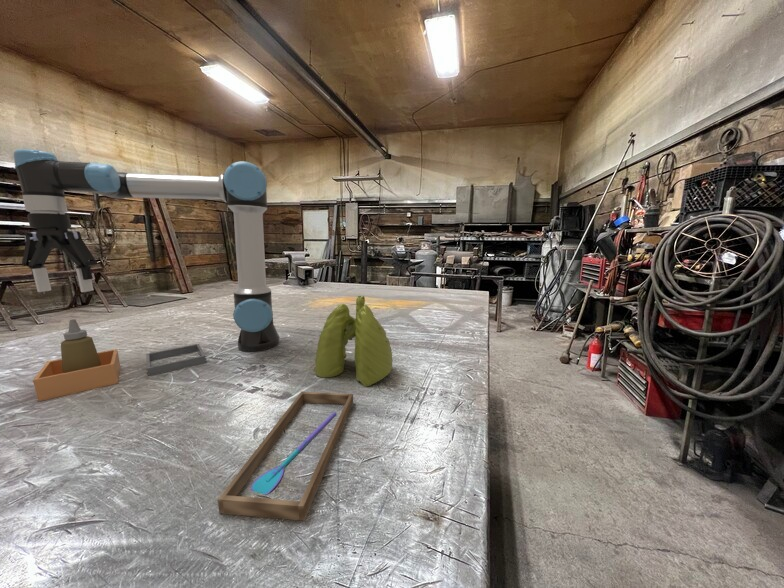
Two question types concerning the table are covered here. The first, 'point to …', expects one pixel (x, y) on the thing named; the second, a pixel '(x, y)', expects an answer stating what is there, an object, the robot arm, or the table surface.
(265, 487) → the paddle
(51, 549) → the table surface
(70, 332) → the squeeze bottle
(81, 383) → the wooden bin
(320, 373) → the lungs
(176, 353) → the tray
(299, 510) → the brown wooden frame
